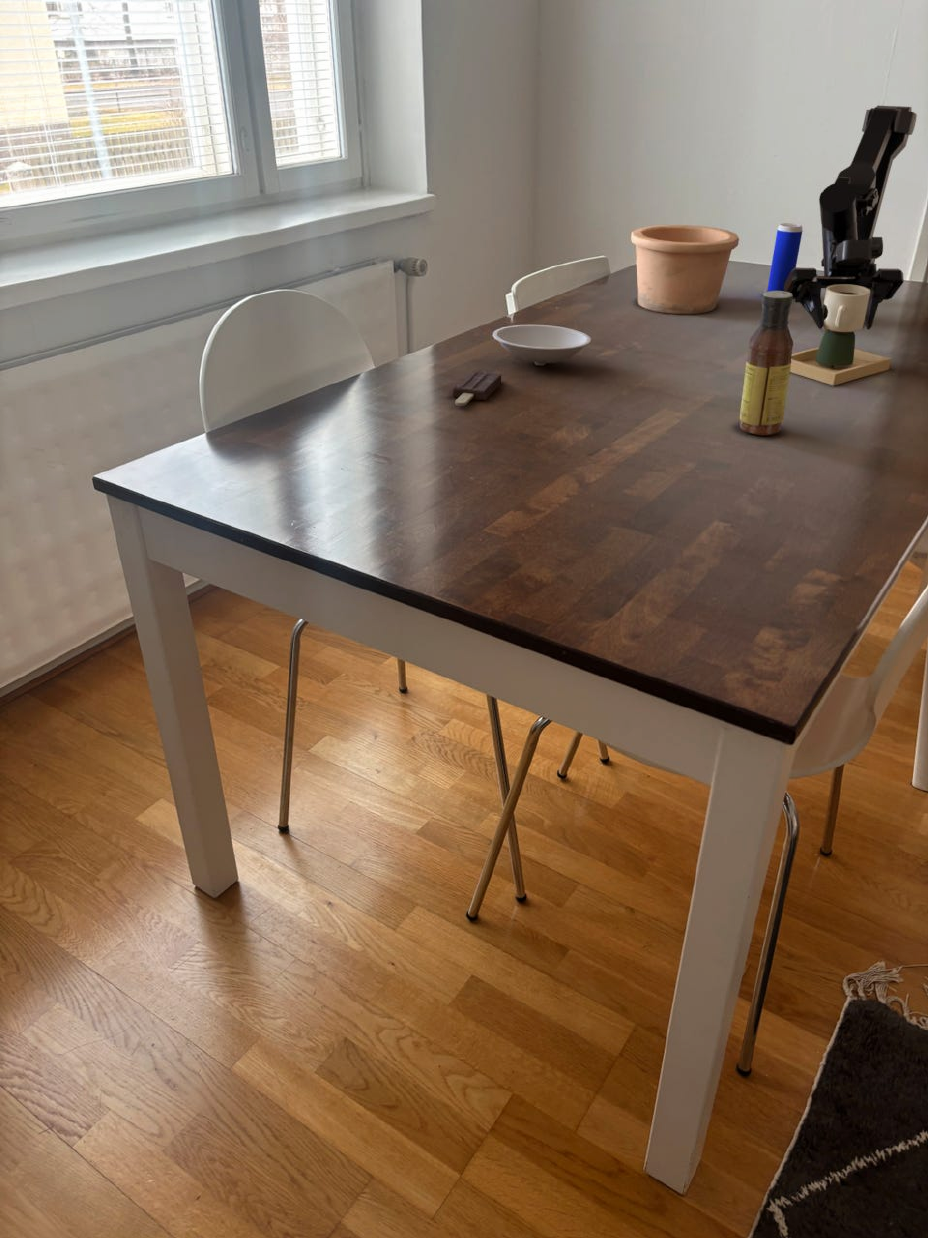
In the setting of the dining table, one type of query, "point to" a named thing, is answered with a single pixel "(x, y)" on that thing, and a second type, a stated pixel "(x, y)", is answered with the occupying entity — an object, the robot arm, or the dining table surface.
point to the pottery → (681, 267)
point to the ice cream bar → (476, 386)
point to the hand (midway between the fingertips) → (845, 327)
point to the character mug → (841, 323)
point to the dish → (541, 342)
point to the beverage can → (784, 255)
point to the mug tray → (835, 375)
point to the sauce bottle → (768, 367)
